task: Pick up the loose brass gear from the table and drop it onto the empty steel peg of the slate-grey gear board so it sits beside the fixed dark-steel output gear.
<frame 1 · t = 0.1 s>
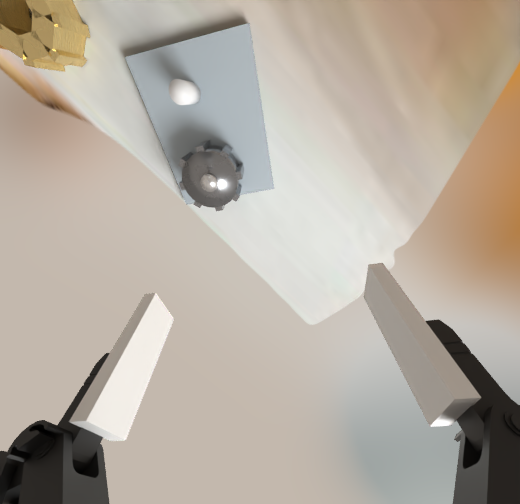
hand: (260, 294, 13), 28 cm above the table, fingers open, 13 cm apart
output gear: (217, 169, 36), resting on gear board
gear board: (213, 131, 32), on the table
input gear: (48, 20, 26), on the table
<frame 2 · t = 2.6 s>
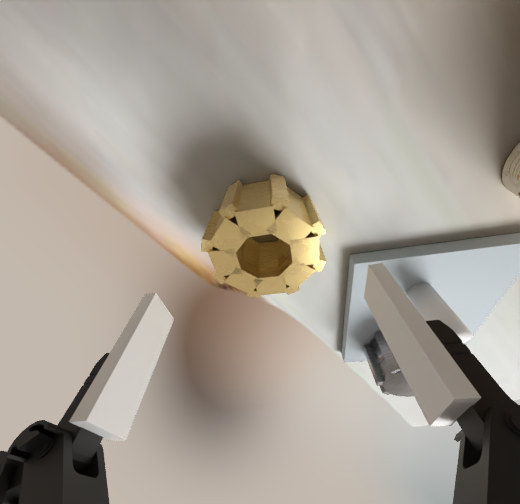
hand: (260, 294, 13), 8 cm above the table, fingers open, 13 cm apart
output gear: (393, 332, 30), resting on gear board
gear board: (410, 307, 26), on the table
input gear: (264, 224, 20), on the table
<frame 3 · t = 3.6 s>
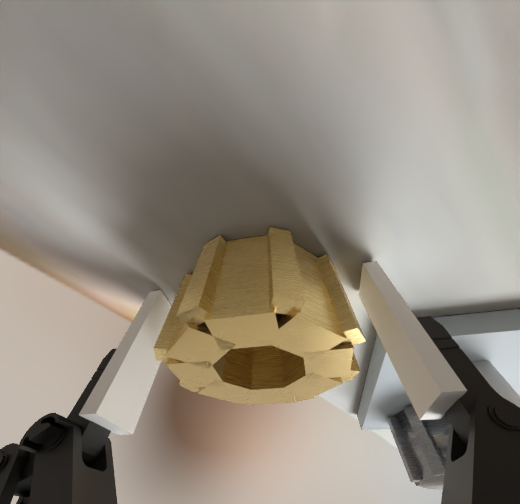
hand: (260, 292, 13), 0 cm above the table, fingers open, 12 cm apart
output gear: (424, 398, 24), resting on gear board
gear board: (451, 375, 20), on the table
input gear: (260, 289, 14), on the table
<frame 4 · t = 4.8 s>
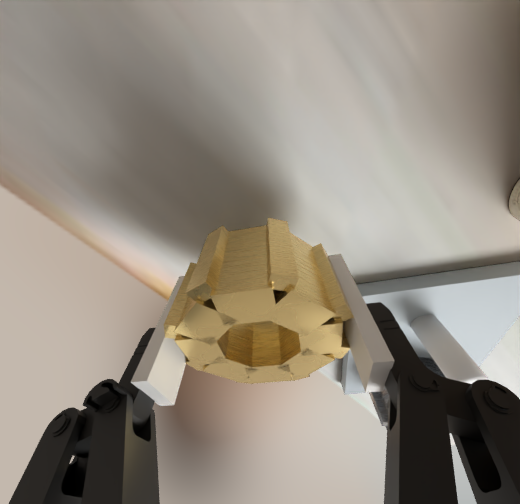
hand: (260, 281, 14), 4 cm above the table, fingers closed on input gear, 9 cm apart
output gear: (396, 362, 28), resting on gear board
gear board: (413, 337, 25), on the table
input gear: (260, 278, 15), point 3 cm above the table, touching gripper
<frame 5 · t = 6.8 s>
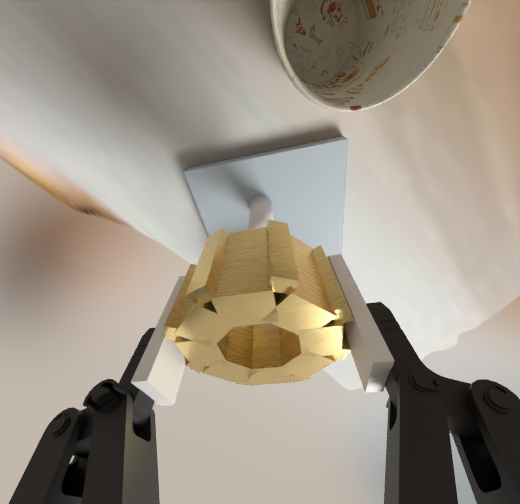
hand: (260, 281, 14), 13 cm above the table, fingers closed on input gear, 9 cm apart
mug: (333, 2, 15), on the table
gear board: (275, 234, 27), on the table
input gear: (260, 279, 15), point 13 cm above the table, touching gripper
when the fingers open (2 cm above the table, at t = 9.0 s): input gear stays where it is, resting on gear board.
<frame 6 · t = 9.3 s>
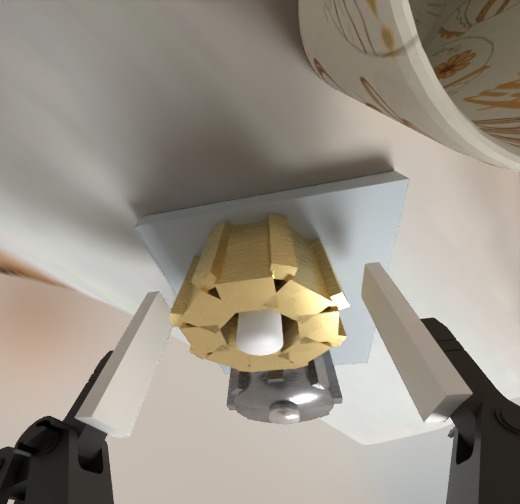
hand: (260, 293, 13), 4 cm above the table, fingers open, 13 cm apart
output gear: (278, 334, 22), resting on gear board
gear board: (281, 299, 19), on the table
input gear: (260, 271, 15), point 1 cm above the table, touching gear board
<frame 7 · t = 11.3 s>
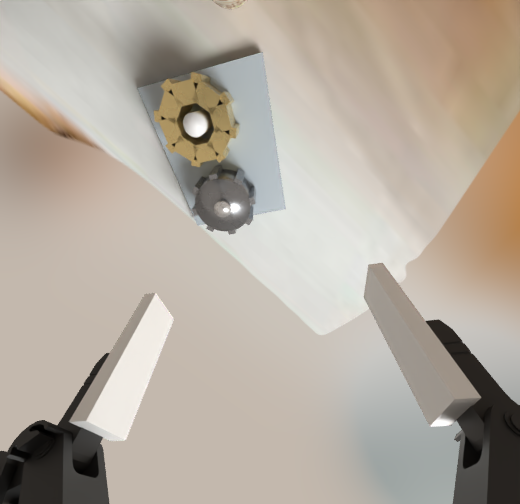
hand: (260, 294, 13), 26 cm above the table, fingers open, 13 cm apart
output gear: (228, 191, 36), resting on gear board
gear board: (224, 155, 32), on the table
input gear: (204, 120, 28), point 1 cm above the table, touching gear board
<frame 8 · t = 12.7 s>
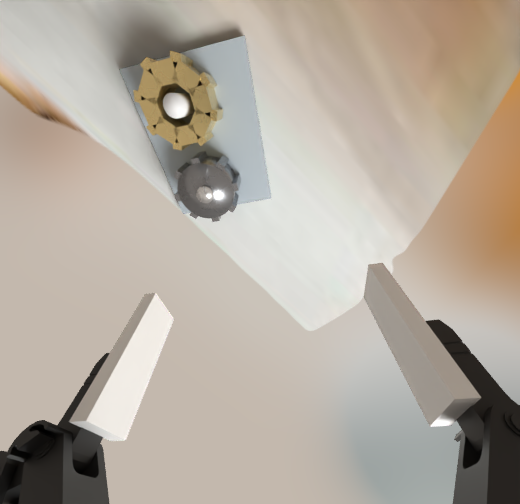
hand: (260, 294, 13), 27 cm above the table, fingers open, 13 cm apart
output gear: (214, 179, 35), resting on gear board
gear board: (209, 142, 32), on the table
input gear: (188, 105, 28), point 1 cm above the table, touching gear board
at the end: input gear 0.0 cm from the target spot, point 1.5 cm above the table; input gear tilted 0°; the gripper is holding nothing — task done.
